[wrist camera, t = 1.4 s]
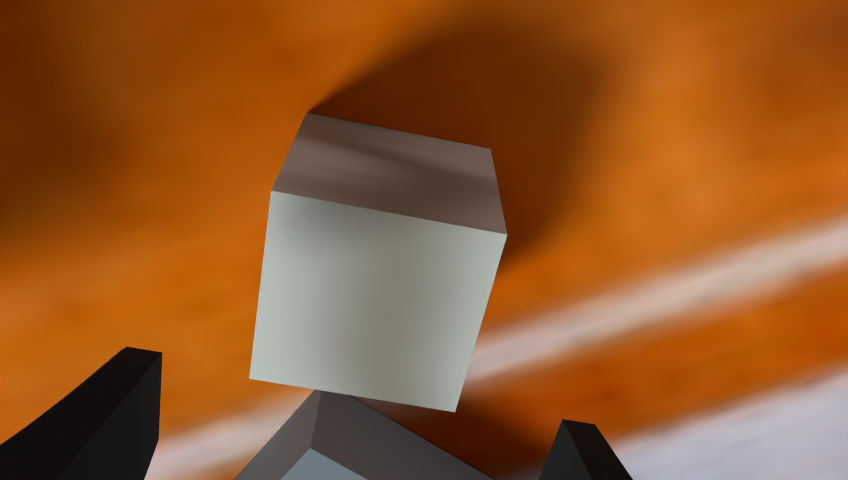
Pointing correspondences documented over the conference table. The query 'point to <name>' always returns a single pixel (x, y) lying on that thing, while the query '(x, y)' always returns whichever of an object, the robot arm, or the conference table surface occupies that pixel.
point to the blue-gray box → (350, 447)
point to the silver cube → (377, 263)
